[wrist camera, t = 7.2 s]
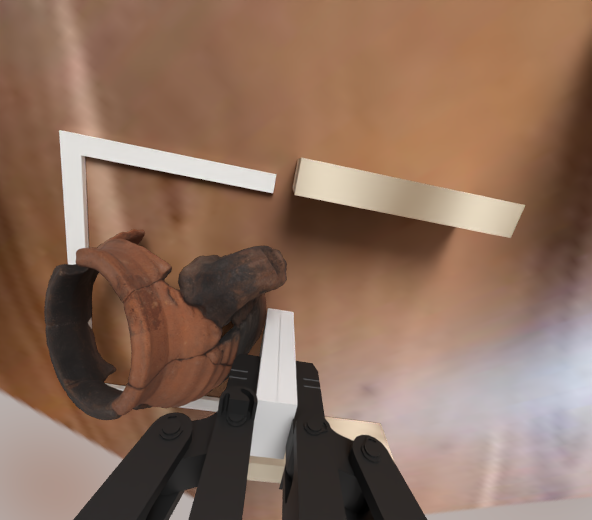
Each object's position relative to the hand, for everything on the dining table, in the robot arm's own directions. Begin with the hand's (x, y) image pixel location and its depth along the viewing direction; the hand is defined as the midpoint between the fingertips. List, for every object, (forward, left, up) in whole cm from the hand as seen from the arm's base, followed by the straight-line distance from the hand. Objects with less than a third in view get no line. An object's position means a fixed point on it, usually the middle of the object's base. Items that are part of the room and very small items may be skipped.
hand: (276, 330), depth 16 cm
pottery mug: (-3, +1, -3) cm, 4 cm away
